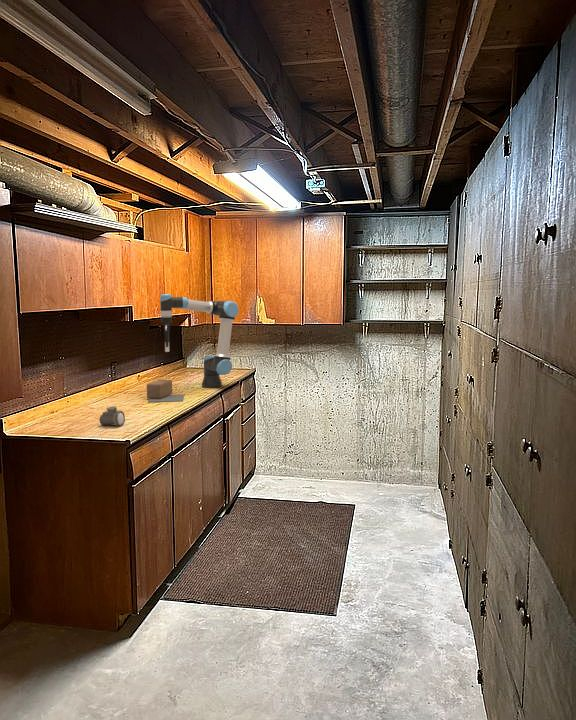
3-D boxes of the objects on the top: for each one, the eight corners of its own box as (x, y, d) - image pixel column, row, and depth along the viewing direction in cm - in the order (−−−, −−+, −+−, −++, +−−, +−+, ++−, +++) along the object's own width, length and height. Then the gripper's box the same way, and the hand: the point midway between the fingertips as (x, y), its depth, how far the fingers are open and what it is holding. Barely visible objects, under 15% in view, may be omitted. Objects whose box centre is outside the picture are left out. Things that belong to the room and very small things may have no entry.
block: (172, 394, 381) (160, 399, 362) (159, 393, 383) (146, 398, 364) (172, 379, 380) (160, 384, 360) (159, 379, 382) (145, 383, 362)
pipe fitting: (127, 423, 294) (123, 404, 292) (119, 428, 286) (115, 409, 285) (107, 424, 297) (103, 406, 295) (99, 429, 289) (95, 410, 288)
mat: (184, 395, 379) (184, 394, 379) (182, 401, 357) (182, 400, 357) (151, 396, 376) (151, 395, 376) (147, 402, 354) (147, 401, 354)
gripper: (161, 316, 380) (162, 350, 383) (159, 317, 367) (160, 352, 370) (172, 316, 381) (173, 350, 384) (171, 317, 368) (172, 352, 371)
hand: (167, 351), depth 377 cm, fingers closed
